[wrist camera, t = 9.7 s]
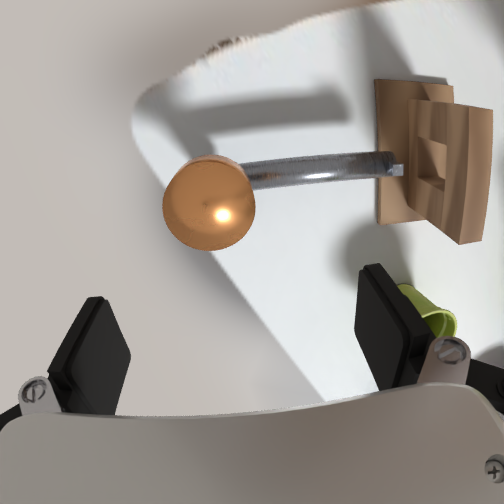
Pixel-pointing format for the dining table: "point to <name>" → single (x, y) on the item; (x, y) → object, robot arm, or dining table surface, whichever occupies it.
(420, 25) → the dining table surface
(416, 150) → the eye block
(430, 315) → the plant pot
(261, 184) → the hook rod
